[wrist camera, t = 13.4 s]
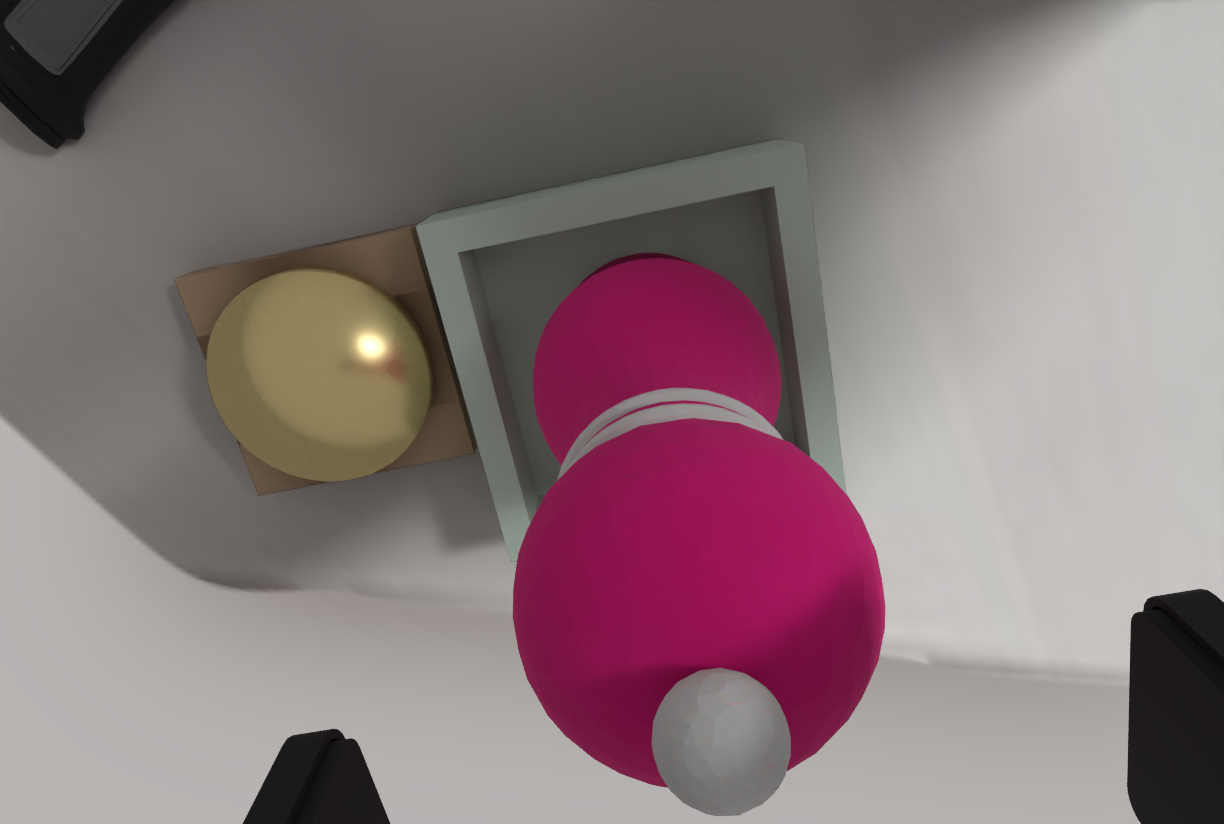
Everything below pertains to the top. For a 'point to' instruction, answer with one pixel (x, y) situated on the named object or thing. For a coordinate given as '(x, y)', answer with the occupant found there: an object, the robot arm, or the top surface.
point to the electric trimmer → (63, 57)
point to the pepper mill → (687, 545)
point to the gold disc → (320, 373)
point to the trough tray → (597, 234)
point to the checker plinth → (396, 271)
